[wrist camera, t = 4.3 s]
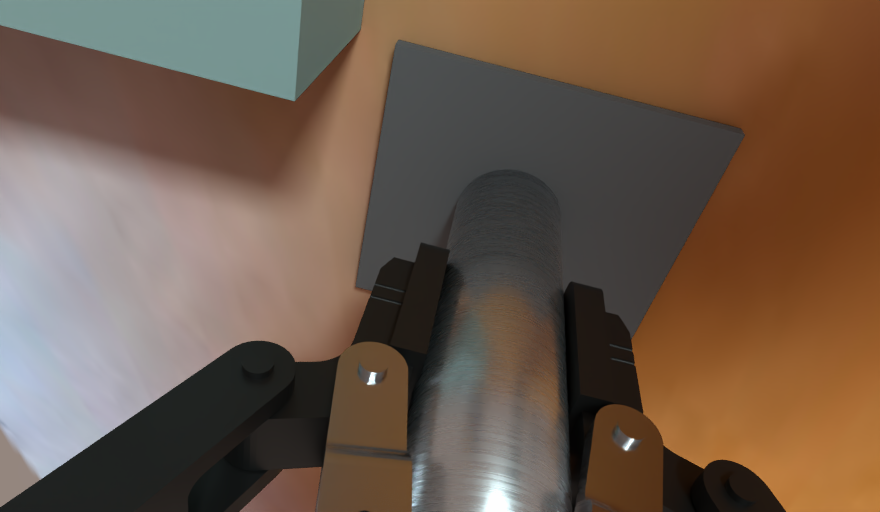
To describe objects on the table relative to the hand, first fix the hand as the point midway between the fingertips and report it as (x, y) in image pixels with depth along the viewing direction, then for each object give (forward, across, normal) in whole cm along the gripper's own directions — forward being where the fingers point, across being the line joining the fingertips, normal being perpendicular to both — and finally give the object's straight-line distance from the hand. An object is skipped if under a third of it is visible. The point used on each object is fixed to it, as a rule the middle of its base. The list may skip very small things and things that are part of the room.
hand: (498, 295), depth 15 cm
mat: (+4, 0, 0) cm, 4 cm away
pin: (+4, 0, 0) cm, 4 cm away
